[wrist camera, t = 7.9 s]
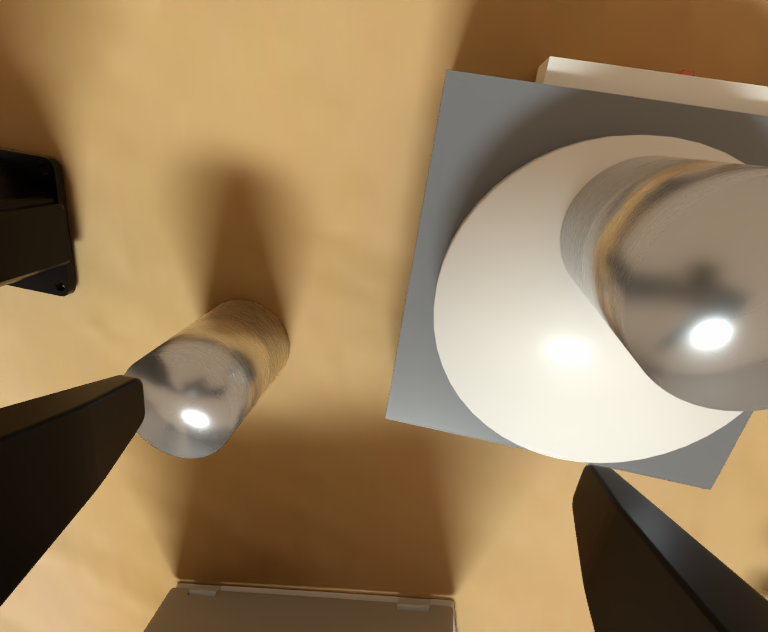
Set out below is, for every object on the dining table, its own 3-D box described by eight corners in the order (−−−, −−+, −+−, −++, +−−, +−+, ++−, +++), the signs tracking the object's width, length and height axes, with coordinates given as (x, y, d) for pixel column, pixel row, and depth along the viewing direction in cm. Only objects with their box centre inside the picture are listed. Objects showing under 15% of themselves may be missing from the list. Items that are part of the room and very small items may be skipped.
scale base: (395, 382, 22) (385, 418, 19) (454, 51, 17) (452, 34, 14) (677, 442, 21) (710, 489, 18) (839, 106, 15) (922, 99, 13)
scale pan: (411, 411, 18) (408, 425, 17) (472, 108, 14) (473, 106, 13) (701, 473, 17) (715, 493, 16) (861, 168, 13) (891, 170, 12)
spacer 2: (542, 290, 15) (592, 385, 9) (585, 143, 13) (679, 150, 7) (685, 316, 14) (830, 432, 9) (750, 169, 12) (980, 195, 7)
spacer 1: (203, 371, 23) (124, 444, 18) (203, 291, 22) (115, 343, 16) (286, 389, 23) (231, 469, 17) (292, 309, 21) (233, 369, 16)
